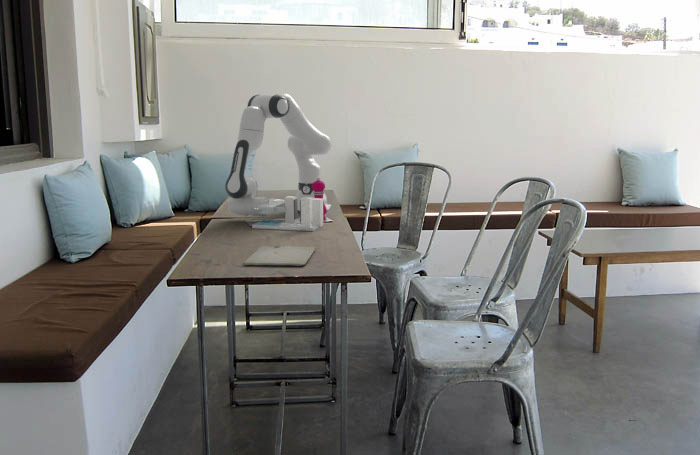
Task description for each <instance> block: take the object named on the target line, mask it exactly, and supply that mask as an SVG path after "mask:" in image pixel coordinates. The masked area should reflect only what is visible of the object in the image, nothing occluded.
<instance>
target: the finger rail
mask: <svg viewBox="0 0 700 455" xmlns="http://www.w3.org/2000/svg"><path fill="white" fill-rule="evenodd" d="M299 219H300V222H301V223H298V222H297V223H285V222H281V221H280V220H276V219H275V220H274V219H273V220H272V219H263V220H260V221H258V222H255V223H252V224H251V229H259V230H260V229H265V230H279V231H280V230H283V231H284V230H285V231H305V232H315V231H316V230H318V229H319V228H320V227H319V224H313V197H303V198H301V200H300V211H299Z"/></svg>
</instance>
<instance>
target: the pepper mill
mask: <svg viewBox="0 0 700 455" xmlns="http://www.w3.org/2000/svg"><path fill="white" fill-rule="evenodd" d="M312 188H313V190H314V191H313V192H314V193H313V194H314V197H315V198H321V199H323V194H324V193H325V189H326V184H325V182H324V181H322V180H321V181H320V178H319V177H318V178H317V181H315V182H314V183H313V184H312ZM327 211H328V210H327V209H326V206H325V204H324V201H323V222H325V221H327V216H326V214H327Z"/></svg>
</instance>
